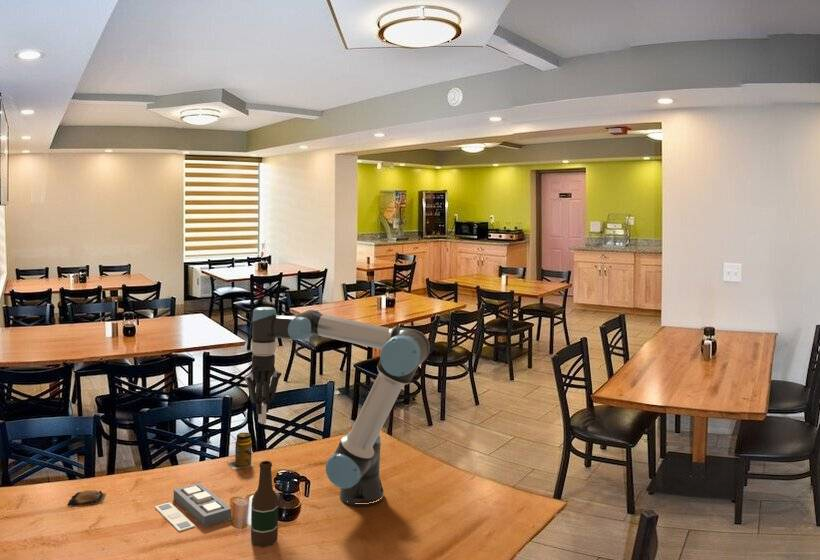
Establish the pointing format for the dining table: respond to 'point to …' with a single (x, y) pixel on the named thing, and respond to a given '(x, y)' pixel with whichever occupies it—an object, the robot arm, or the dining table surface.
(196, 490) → the button
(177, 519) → the pattern card
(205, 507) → the button
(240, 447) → the condiment
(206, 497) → the middle button
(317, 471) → the dining table surface
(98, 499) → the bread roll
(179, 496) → the console
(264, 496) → the beer bottle
